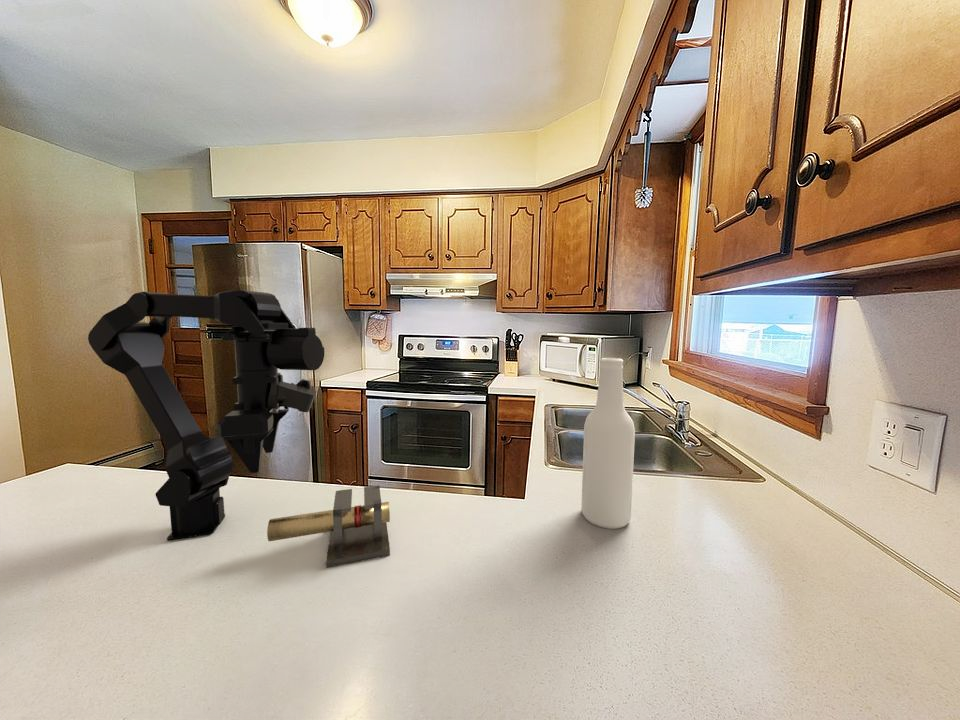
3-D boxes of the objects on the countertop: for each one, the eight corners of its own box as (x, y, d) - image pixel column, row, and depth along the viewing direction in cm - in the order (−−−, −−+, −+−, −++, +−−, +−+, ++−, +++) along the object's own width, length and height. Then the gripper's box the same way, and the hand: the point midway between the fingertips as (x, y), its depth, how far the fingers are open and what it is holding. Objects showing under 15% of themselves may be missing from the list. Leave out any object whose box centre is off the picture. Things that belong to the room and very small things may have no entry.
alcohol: (624, 536, 61) (632, 362, 58) (574, 520, 66) (579, 359, 63) (635, 514, 68) (642, 358, 65) (589, 501, 73) (594, 355, 70)
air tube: (267, 546, 54) (266, 525, 54) (273, 534, 57) (271, 514, 57) (389, 526, 60) (389, 506, 59) (388, 516, 63) (388, 497, 63)
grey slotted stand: (326, 567, 53) (324, 520, 52) (332, 524, 64) (330, 485, 63) (389, 555, 56) (389, 510, 55) (385, 516, 67) (384, 478, 66)
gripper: (303, 374, 52) (307, 478, 53) (317, 362, 69) (320, 440, 71) (212, 377, 48) (220, 488, 50) (252, 363, 66) (256, 445, 67)
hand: (262, 461), depth 60 cm, fingers open, 9 cm apart
